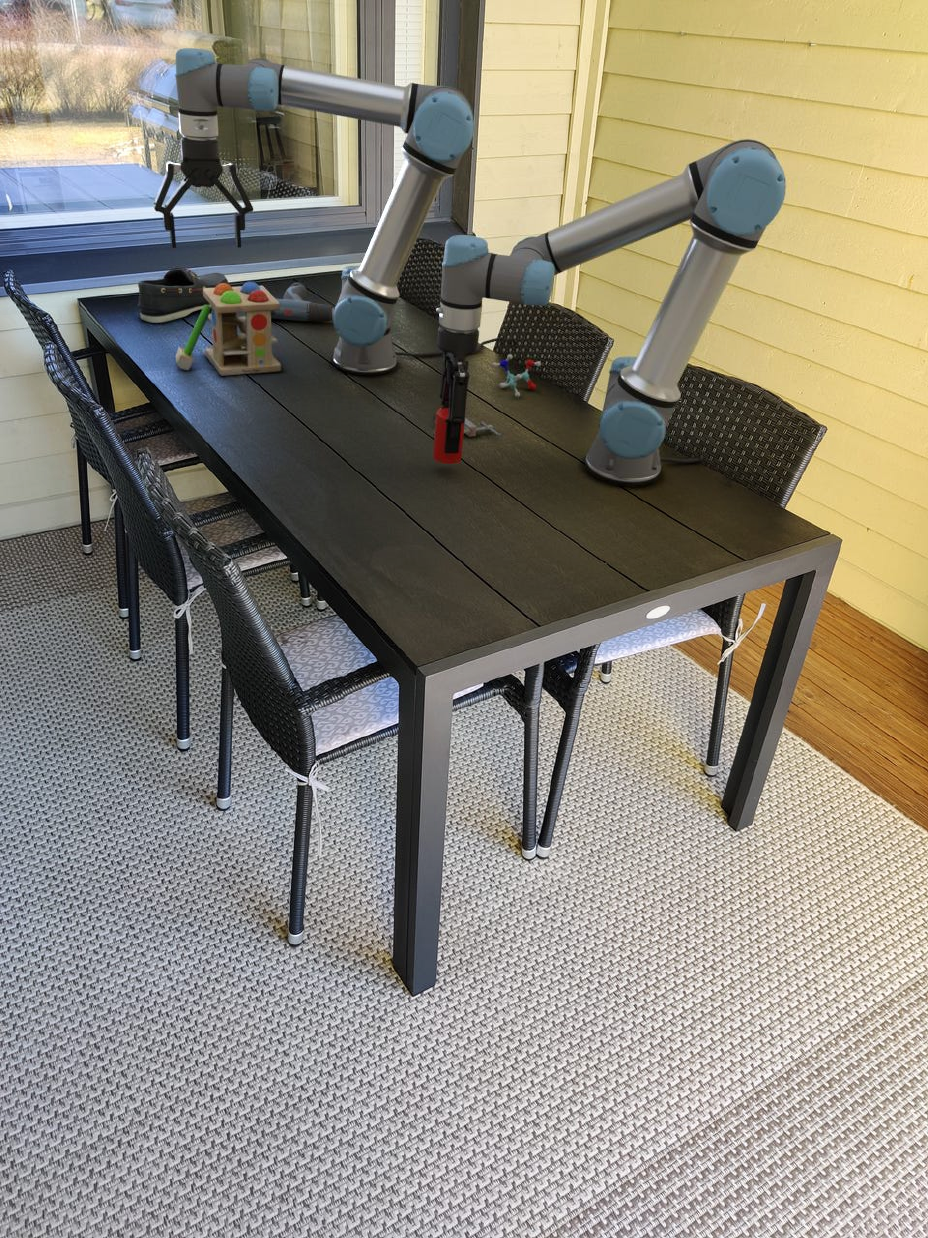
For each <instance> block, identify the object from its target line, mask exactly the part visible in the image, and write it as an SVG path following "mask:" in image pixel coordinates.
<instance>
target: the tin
mask: <svg viewBox="0 0 928 1238" xmlns="http://www.w3.org/2000/svg"><path fill="white" fill-rule="evenodd" d="M439 409H440V408H439ZM439 409H438V410H437V411H436V414H435V419H436V423H435V427H434V440H433V441H434V442H433V451H432V452H433V454H432V458H433V460H435V462H438V463H440V464H444V465H454V464H458V463H460V462H461V460H462V455H463V445H464V425H465V421H464V423H461V434H460V444H459V453H445V452H444V447H445V435H446V424H447V422H445V419H448V418H449V408H444V409H440V410H439Z"/></svg>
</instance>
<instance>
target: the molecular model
mask: <svg viewBox="0 0 928 1238" xmlns="http://www.w3.org/2000/svg"><path fill="white" fill-rule="evenodd" d="M511 360H513V354H511V353H509V354H508V355H507V358H506V359H503V360H501V361H500V362H495V361H494V362H492V363H491V367H492V368H494V369H495V368H497V367H498V366H499V367H501V368H503V369H504V370H505V372H506V375H507V376H506V381H505V382H500V383H499V388H500V389H505V388H507V387H509V388H510V389H513V391H514V396H515V398H520V397H521V393H520V392H519V391H518V389H517V388H516V387H517V382H518V381H519V380H523V381H525V382H526V384H527V386H528V389H529V390H531V391H533V390H535V389H536V384H535V383H533V382H532V380H531V379H530V374H529V373H528V372H529V370H530V367H532V366H536V367H540V366H541V365H542V363H541V361H540V360H538V361H533V360H532V359H527V360H526V361H525V365H526V367H525V370H524V372H522V373H518V374H516V375H514V374H513V373H511V372H510V370H509V368H508V364H509V363H508V362H509V361H511Z"/></svg>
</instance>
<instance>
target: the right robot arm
mask: <svg viewBox="0 0 928 1238" xmlns="http://www.w3.org/2000/svg"><path fill="white" fill-rule="evenodd" d="M786 182H787V181H786V176H785V171H784V169H783V167H782V165H781V164H780V162H779V160H778V158H777V156H776V154H775V153H774V151H773V150H772V149H771V148H770V147H769V146H768V145H766V144H765V143H763V142H761V141H759V140H756V139H751V138H745V139H739V140H734V141H732V142H729V143H728V144H725V145H724V146H722V147H720V148H718V149H717V150H715V151H713V152H711V153H709V154H707V155H705V156H703V157H701V158H699V159H698V160H695V161H692V162H690V163H687V164H686V166H685V168H684V170H683V172H682V173H681V174H678V175H676V176H674V177H672V178H669V179H667V180H664V181H662V182H660V183H658V184H655V185H652V186H650V187H648V188H646V189H644V190H643V189H642V190H641V191H639V192H637V193H634V194H632V195H630V196H627V197H625V198H622V199H620V200H618V201H615V202H614V203H610V204H609V205H606V206H603V207H602V208H600V209H597V210H595V211H593V212H590V213H587V214H585V215H582V216H580V217H578V218H576V219H574V220H572V221H569V222H567V223H565V224H561V225H560V226H558V227H556V228H553V229H551V230H549V231H547V232H545V233H541V234H539V235H537V236H534V235H533V236H527V237H525V238H523V239H521V240H520V241H518V242H517V244H515V246H514V247H513V249H512V250H511V253H510V255H507V254H506V255H505V254H497V253H493V252H490V250H489V244H488V242H487V240H486V239H485V238H482V237H480V236H479V237H478V236H476V235H469V234H455V235H452V236H450V237H449V238H448V239H446V240H445V245H444V253H443V261H442V262H441V266H442V269H441V286H440V299H439V301H440V303H439V305H440V307H437V308H436V313H437V314H439V316H438V323H439V326H438V327H437V338H436V346H437V348H438V349H439V350H441V352H443V355H442V367H441V379H440V391H439V399H441V400H440V404H441V409H444V408H449V418H448V419H445V422H447V424H446V435H445V447H444V452H445V453H459V444H460V434H461V423H464V421H465V418H466V407H467V398H468V397H467V396H468V384H469V379H470V376H471V375H470V372H469V371H468V370H469V361H468V360H467V356H468V355H467V354H469V353H473V352H475V351H476V350H477V349H478V347H479V341H480V340H479V339H480V330H479V329H480V327H481V321H482V313H483V298H484V299H487V300H496V301H502V302H509V303H514V304H519V305H525V306H528V307H529V306H539V307H544V306H547V305H548V304H549V303H550V301H551V296H552V292H553V289H554V288H553V287H554V280H555V276H557V275H559V274H561V273H564V272H566V271H567V270H571V269H573V268H575V267H578V266H580V265H583V264H585V263H587V262H590V261H592V260H595V259H597V258H600V257H603V256H605V255H607V254H609V253H612V252H615V251H617V250H619V249H622V248H624V247H627V246H629V245H632V244H634V243H637V242H639V241H641V240H644V239H647V238H648V237H651V236H653V235H656V234H658V233H661V232H663V231H666V230H669V229H671V228H673V227H676V226H678V225H680V224H683V223H685V222H688V221H689V224H690V226H691V230H692V237H691V239H690V241H689V243H688V246H687V247H686V249H685V252H684V254H683V256H682V258H681V261H680V262H679V265H678V267H677V270H675V271H676V272H675V273H674V276H673V278H672V280H671V283H670V285H669V287H668V289H667V291H666V292H665V295H664V297H663V300H662V301H661V304H660V306H659V308H658V311H657V313H656V315H655V317H654V319H653V321H652V323H651V324H650V328H649V330H648V332H647V334H646V336H645V339H644V340H643V343H642V345H641V347H640V349H639V352H638V354H637V356H619V357H616V358H614V359H613V360H612V362H611V365H610V369H609V371H608V373H609V375H608V381H607V388H606V391H605V392H606V393H605V397H604V402H603V408H602V410H601V416H600V419H599V420H598V421H599V424H598V428H599V431H598V433H597V435H596V437H595V439H594V441H593V443H592V444H591V446H590V448H589V450H588V452H587V453H586V456H585V462H584V467H585V470H586V471H587V473H589V474H590V475H591V476H592V477H594V478H595V479H597V480H599V481H601V482H604V483H607V484H611V485H614V486H620V487H631V488H634V487H635V488H636V487H637V488H638V487H644V486H645V487H646V486H649V485H652V484H654V483H655V482H657V481H658V480H659V479H660V474H661V470H662V463H661V462H663V463H664V462H665V463H675V464H694V463H698V462H699V458H697V457H696V458H688V459H683V458H681V459H680V458H674V457H673V458H672V457H661V456H660V446H662V443H663V442H664V440H665V438H666V433H667V425H668V423H669V421H670V419H671V417H672V414H673V413H674V411H675V409H676V406H677V404H678V403H679V401H680V399H681V395H682V394H681V391H680V389H679V386H678V384H679V382H680V380H681V377H682V376H683V373H684V372H685V370H686V368H687V365H688V364H689V362H690V359H691V358H692V355H693V354H694V352H695V349H696V347H697V346H698V344H699V342H700V340H701V337H702V336H703V334H704V331H705V329H706V327H707V325H708V323H709V321H710V320H711V317H712V315H713V314H714V311H715V310H716V308H717V306H718V303H719V301H720V299H721V297H722V295H723V293H724V291H725V289H726V287H727V285H728V283H729V281H730V280H731V277H732V275H733V274H734V272H735V269H736V267H737V265H738V263H739V261H740V259H741V257H742V256H743V255H745V254H748V253H750V252H752V251H754V250H755V249H756V248H757V246H758V243H760V242H759V241H760V240H761V238H762V236H763V235H764V232H765V230H766V228H767V227H768V226H769V225H770V224H771V223H772V222H773V221H774V220H775V218H776V217H777V215H778V214H779V213H780V211H781V209H782V206H783V204H784V200H785V198H786V188H787V187H786V186H787V185H786ZM469 355H470V354H469Z"/></svg>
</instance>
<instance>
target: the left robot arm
mask: <svg viewBox="0 0 928 1238" xmlns="http://www.w3.org/2000/svg"><path fill="white" fill-rule="evenodd" d="M174 77H175V84H176V94H177V105H178V122H179V123H178V124H179V134H180V135H181V138H180V150H181V162H180V163H175V162H172V161H170V160H168V161H166V163H165V174H164V177H163V179H162V181H161V184H160V186H159V190H158V191H157V194H156V196H155V199H154V201H153V205H152V206H153V209H154V211H155V212H159V213H161V214H162V218H163V227H164V229H165V231H168V232H169V237H170V246H171V248H172V249H177V241H176V228H175V227H176V226H175V215H174V213H173V212H172V211H173V210H174V208H175V207H176V205H177V204H178V203H179V201H181V199H182V198H183V196H184V195H185V194H186V192H187V191H188V190H189V189H190V188H191V187H192V186H193V187H195V188H202V187H204V188H211V189H212V187H214V186H216V188H217V189H218V190H219V191H220V193H222V195H223V196H224V197H225V198H226V199H227V201H228V202H229V203H230V204H231V205H232V206H233V208H234V209H235V210H236V211H237V212H233V219H234V220H233V221H234V241H235V242H234V243H235V246H236V247H237V248H238V249H239V248H242V235H241V234H242V233H241V232H242V231H245V230H246V214H248V213H252V212H254V206H253V204H252V203H251V200H250V199H249V197H248V195H247V193H246V190H245V189H244V187H243V185H242V183H241V181H240V179H239V177H238V172H237V166H236V165H235V164H234V163H233V162H229V163H228V164H227V163H226V164H222V163H221V156H220V141H219V140H218V138H217V137H218V136H219V123H218V107H223V108H224V107H225V108H235V109H244V110H251V111H252V110H253V111H257V112H261V111H266V112H267V111H268V112H269V111H270V112H271V111H272V112H273V111H275V110H276V108H277V107H278V106H286V107H291V108H296V109H301V110H307V111H312V112H318V113H324V114H328V115H334V116H339V117H345V118H350V119H354V120H355V119H356V120H361V121H366V122H372V123H376V124H381V125H387V126H393V127H397V128H400V129H401V130H402V132H403V134H407V135H406V137H405V140H404V141H403V144H402V146H401V150H402V153H403V157H404V162H403V164H402V166H401V169H400V171H399V173H398V176H397V178H396V181H395V183H394V185H393V188H392V190H391V193H390V195H389V197H388V200H387V202H386V204H385V207H384V209H383V211H382V214H381V217H380V219H379V221H378V223H377V226H376V228H375V231H374V232H373V235H372V238H371V240H370V243H369V245H368V247H367V250H366V252H365V255H364V257H363V260H362V262H361V264H360V265H347V266H344V268H343V269H342V272H341V277H340V279H341V292H340V295H339V298H338V301H337V302H336V304H335V307H333V308H334V312H333V320H332V321H333V326H334V329H335V331H336V334H337V335H338V336H339V338H338V341H337V344H336V346H335V347H334V350H333V361H332V362H333V363H332V364H333V366H334V367H335V368H337V369H338V370H339V371H342V372H344V373H347V374H352V375H356V376H380V375H381V376H382V375H386V374H389V373H391V372H393V371H395V369H396V368H397V361H398V360H397V356H405V357H417V358H418V357H422V358H423V357H431V356H441V355H442V356H443V351H434V352H433V351H432V352H425V353H424V352H423V353H410V352H400V351H395V347H394V343H393V341H392V337H391V336H392V335H391V321H392V314H393V311H394V308H395V307H396V304H397V302H398V300H399V297H400V292H399V289H398V287H397V285H398V282H399V280H400V278H401V276H402V274H403V271H404V269H405V266H406V265H407V262H408V260H409V258H410V256H411V253H412V251H413V248H414V246H415V244H416V242H417V239H418V237H419V235H420V233H421V232H422V231H421V230H422V228H423V226H424V224H425V221H426V219H427V217H428V215H429V213H430V210H431V208H432V206H433V203H434V202H435V199H436V197H437V194H438V193H439V190H440V188H441V185H442V183H443V181H445V180H446V179H448V178H452V177H453V176H454V174H455V173H456V170H457V168H458V166H459V164H460V161H461V160H462V157H463V155H464V153H466V150H468V149H469V147H470V145H471V142H472V140H473V136H474V132H475V122H474V115H473V108H472V106H471V104H470V103H471V102H470V101H469V99H468V97H466V95H464V93H462V92H461V91H460V90H459V89H457V88H455V87H452V86H446V85H429V84H420V83H415V82H410V83H408V84H407V85H406V86H400V85H395V84H390V83H385V82H379V81H374V80H368V79H365V78H364V79H363V78H357V77H353V76H347V75H341V74H337V73H330V72H326V71H320V70H314V69H308V68H305V67H298V66H294V65H288V64H281V63H276V62H272V61H270V60H268V59H265V58H261V57H260V58H259V57H256V58H253V59H252V58H251V59H250V60H248V61H247V62H246V63H244V64H242V65H241V64H226V63H220V62H217V61H216V59H215V53H214V52H213V51H212V50H210V49H209V50H208V49H203V48H192V47H191V48H189V47H188V48H187V47H186V48H185V47H184V48H183V47H182V48H179V49H178V50H177V51H176V52H175V74H174ZM179 171H180V172H181V173H182V175H183V176H184V177H183V179H181V182H180V184H179V185H178V186H177V188H176V189H175V190H174V191H173V193H172V194H171V196H170V197H169V198H168V199H167V201H166V202H165V199H166V196H167V194H168V193H169V190H170V187H171V185H172V182H173V180H174V176H176V175H177V174H178V172H179ZM223 172H224V173H225V174H226V175H227V176H228V177H229V178H230V180H231V181H232V183H233V185H234V187H235V189H236V191H237V193H238V195H239V197H240V199H241V200H242V203H243V205H241V204H240V202H238V201H237V199H236V198H235V197H234V195H232V194H231V192H230V191H229V190H228V189H227V187H226V186H225V185H224V184H223V183H222V182H221V180H220V179H219V178H220V176H221V175H222V173H223ZM164 202H165V203H164ZM163 204H164V205H163ZM500 337H501V336H500ZM500 337H495V338H492V339H488V340H484V341H482V342H480V344H478V348H477V350H476V351H475V352H473V353H469V354H467V355H466V356H468V355H474V354H477V353H479V352H480V351H481V350H482V347H483V346H485V345H487V344H491V343H495V342H498V341H504V340H503V339H504V338H502V337H503V336H502V337H501V338H500ZM499 338H500V340H499ZM508 341H509V342H511V343H513V344H514V345H517V344H516V343H515V342H512V341H510V340H508Z"/></svg>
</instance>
